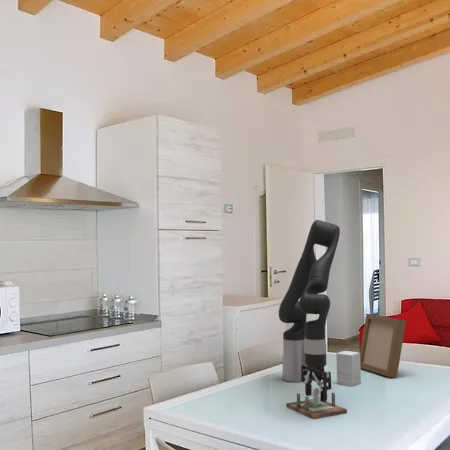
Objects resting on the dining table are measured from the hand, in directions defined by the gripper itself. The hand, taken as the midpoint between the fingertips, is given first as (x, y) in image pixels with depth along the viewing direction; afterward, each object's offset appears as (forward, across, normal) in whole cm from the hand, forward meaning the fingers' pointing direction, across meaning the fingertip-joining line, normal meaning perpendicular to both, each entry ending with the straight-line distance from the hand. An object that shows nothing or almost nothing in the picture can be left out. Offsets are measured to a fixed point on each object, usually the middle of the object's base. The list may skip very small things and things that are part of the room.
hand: (315, 398), depth 191 cm
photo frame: (+4, +31, -62) cm, 69 cm away
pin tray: (+4, 0, 0) cm, 4 cm away
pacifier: (+3, +1, 0) cm, 3 cm away
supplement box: (+4, +23, -34) cm, 41 cm away
